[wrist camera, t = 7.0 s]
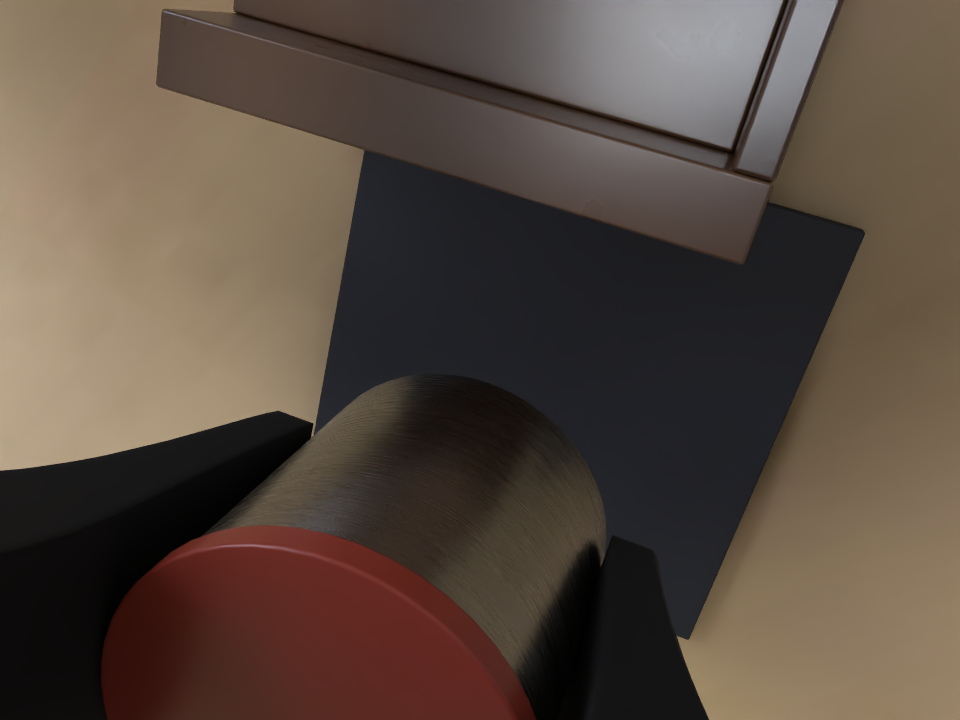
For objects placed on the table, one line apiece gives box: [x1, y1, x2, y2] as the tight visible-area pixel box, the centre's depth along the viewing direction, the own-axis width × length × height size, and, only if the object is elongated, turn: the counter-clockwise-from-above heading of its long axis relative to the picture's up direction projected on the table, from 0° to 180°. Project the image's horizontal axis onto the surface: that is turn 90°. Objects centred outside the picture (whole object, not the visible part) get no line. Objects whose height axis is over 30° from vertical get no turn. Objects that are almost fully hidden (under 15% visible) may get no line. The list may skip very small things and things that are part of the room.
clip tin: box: [101, 374, 606, 720], centre depth 11 cm, size 5×5×5 cm
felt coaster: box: [314, 150, 865, 640], centre depth 19 cm, size 10×10×1 cm
